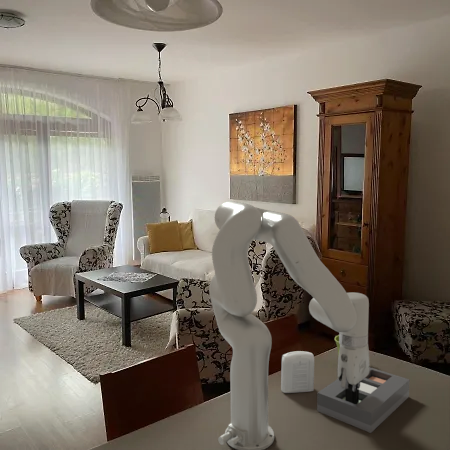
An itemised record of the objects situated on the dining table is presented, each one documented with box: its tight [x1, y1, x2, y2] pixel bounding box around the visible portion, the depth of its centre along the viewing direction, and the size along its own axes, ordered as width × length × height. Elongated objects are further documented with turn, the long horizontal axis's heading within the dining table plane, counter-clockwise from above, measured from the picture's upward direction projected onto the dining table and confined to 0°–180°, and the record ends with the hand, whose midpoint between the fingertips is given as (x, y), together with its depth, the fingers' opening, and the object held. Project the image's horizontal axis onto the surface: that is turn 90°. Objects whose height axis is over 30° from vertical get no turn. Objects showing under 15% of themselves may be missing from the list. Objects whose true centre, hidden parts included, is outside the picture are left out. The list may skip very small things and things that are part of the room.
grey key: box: [359, 382, 377, 394], centre depth 133 cm, size 6×6×2 cm
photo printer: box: [280, 350, 315, 394], centre depth 141 cm, size 10×4×12 cm, turn 98°
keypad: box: [316, 366, 411, 434], centre depth 133 cm, size 25×16×6 cm, turn 137°
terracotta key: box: [369, 376, 386, 384], centre depth 138 cm, size 6×6×2 cm
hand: (352, 402), depth 127 cm, fingers closed
